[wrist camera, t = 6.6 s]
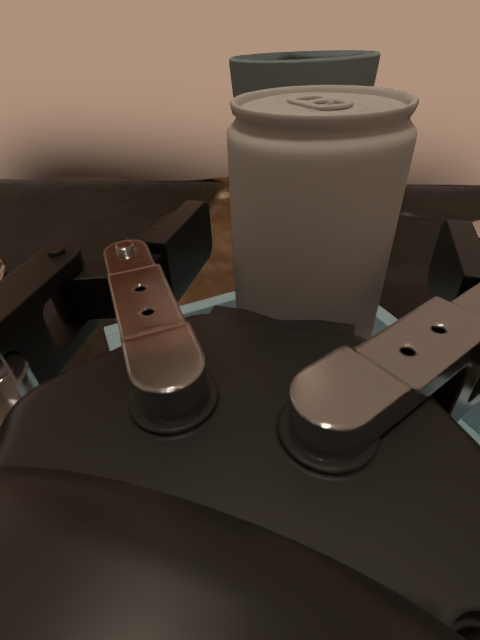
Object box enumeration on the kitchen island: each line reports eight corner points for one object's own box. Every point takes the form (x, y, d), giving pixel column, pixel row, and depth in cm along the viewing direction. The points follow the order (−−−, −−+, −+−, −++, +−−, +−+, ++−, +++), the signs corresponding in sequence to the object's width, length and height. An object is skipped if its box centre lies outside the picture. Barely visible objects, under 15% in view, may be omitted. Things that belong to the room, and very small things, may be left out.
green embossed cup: (257, 256, 29) (254, 63, 21) (223, 208, 36) (213, 53, 29) (378, 235, 31) (414, 51, 23) (322, 193, 38) (336, 45, 31)
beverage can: (276, 478, 14) (290, 128, 7) (223, 391, 18) (195, 95, 11) (376, 428, 16) (473, 98, 9) (310, 358, 19) (339, 79, 12)
